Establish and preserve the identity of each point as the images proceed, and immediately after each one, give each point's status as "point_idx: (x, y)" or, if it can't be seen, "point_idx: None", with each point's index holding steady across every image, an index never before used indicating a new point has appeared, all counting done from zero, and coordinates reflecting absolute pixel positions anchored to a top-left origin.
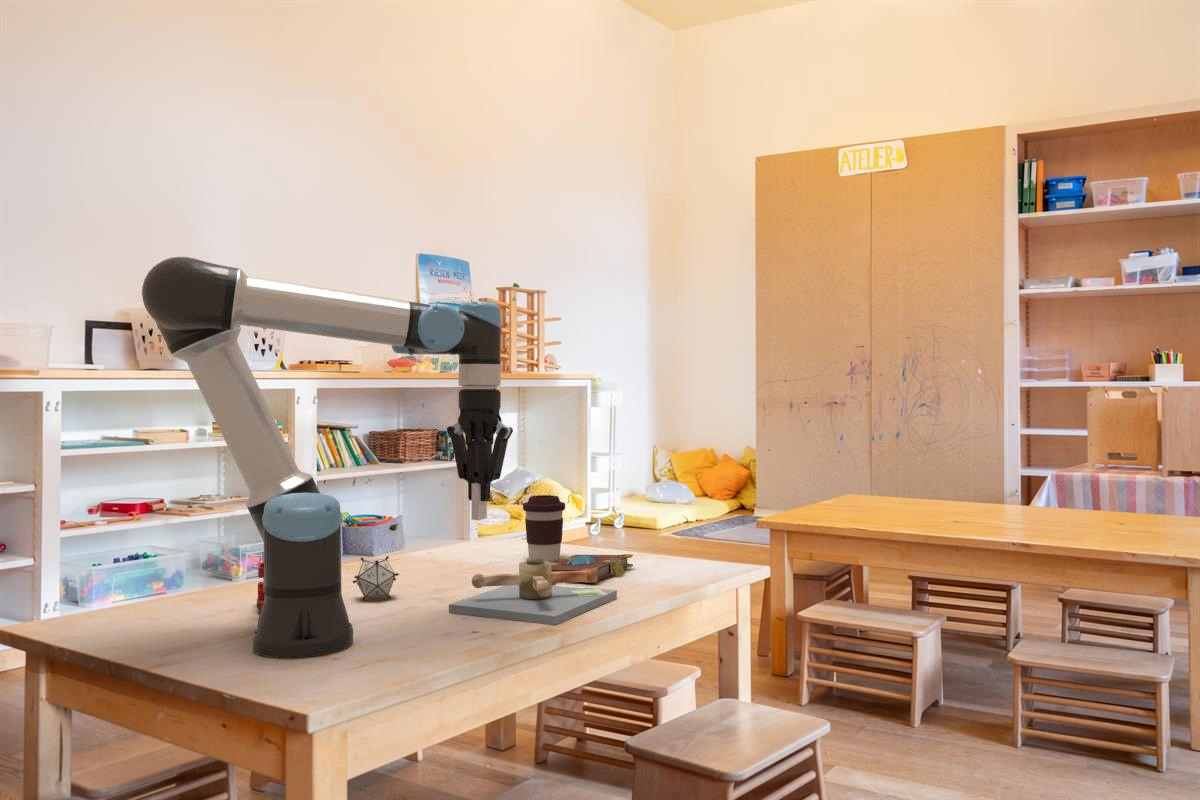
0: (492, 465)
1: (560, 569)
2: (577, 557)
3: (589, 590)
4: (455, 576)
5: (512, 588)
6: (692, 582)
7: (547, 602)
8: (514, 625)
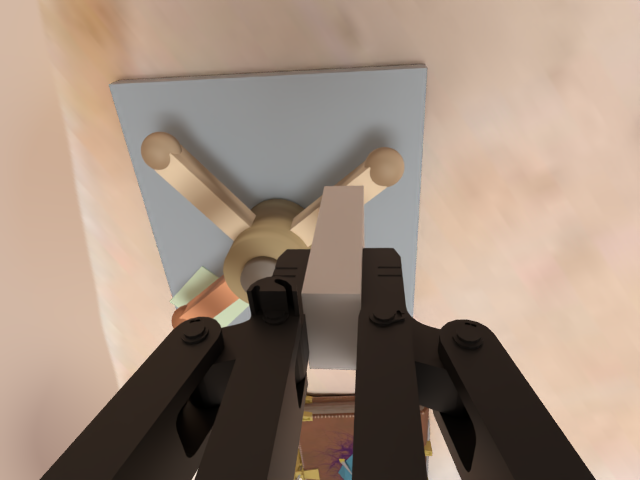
0: (135, 406)
1: None
2: None
3: (223, 317)
4: (608, 374)
5: None
6: None
7: None
8: (191, 28)
